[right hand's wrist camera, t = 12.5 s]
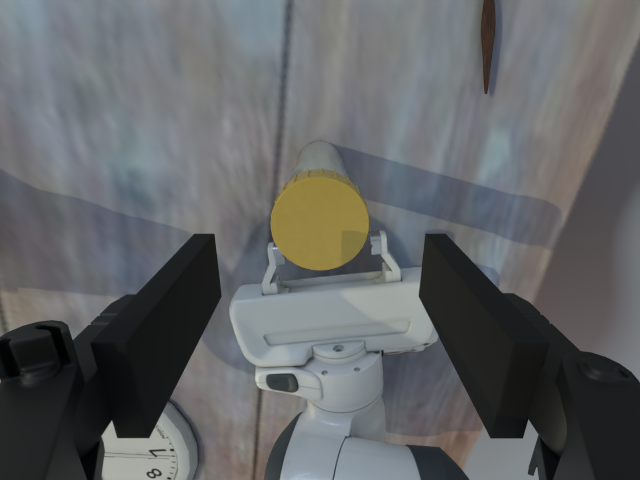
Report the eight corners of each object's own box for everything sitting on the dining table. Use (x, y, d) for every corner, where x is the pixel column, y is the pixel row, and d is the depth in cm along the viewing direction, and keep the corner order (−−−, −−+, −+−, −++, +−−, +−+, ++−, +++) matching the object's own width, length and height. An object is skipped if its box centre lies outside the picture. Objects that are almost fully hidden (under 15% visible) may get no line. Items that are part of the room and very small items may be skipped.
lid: (339, 267, 22) (341, 286, 20) (260, 231, 21) (253, 246, 19) (382, 193, 20) (389, 204, 18) (298, 151, 19) (295, 157, 17)
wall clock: (237, 480, 52) (89, 548, 57) (239, 469, 53) (95, 536, 59) (85, 335, 42) (-73, 433, 48) (93, 327, 44) (-61, 423, 50)
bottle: (329, 193, 38) (338, 276, 20) (290, 174, 37) (262, 241, 19) (350, 154, 36) (380, 204, 18) (309, 133, 36) (299, 164, 18)
